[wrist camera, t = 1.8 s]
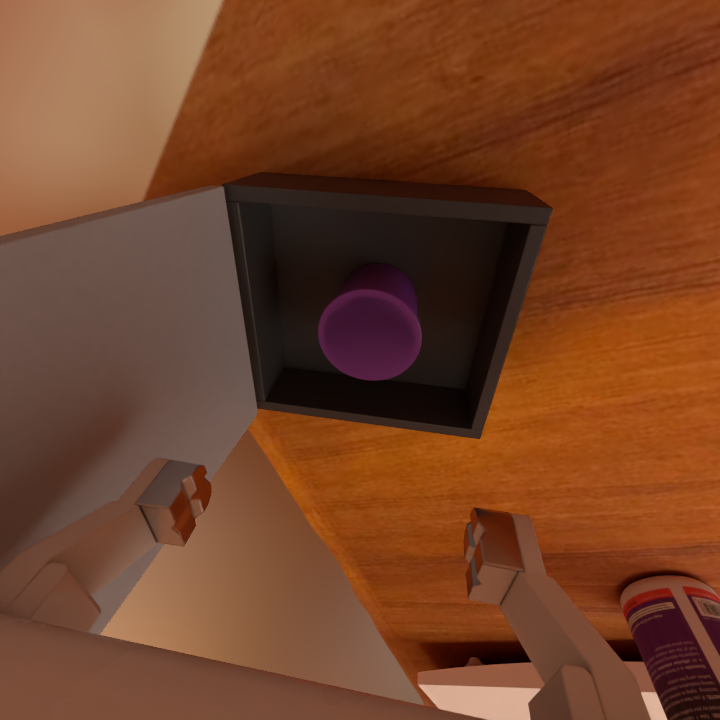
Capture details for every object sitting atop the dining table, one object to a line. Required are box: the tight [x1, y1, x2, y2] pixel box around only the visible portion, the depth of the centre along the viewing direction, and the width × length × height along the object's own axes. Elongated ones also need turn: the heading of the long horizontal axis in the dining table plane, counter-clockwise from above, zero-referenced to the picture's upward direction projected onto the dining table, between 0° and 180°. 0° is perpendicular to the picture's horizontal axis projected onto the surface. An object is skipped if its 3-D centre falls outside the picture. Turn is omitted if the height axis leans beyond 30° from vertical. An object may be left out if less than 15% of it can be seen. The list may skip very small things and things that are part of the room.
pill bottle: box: [620, 575, 720, 720], centre depth 30 cm, size 8×8×14 cm
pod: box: [318, 263, 422, 381], centre depth 21 cm, size 5×5×5 cm
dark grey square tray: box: [222, 172, 553, 439], centre depth 21 cm, size 14×13×5 cm
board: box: [418, 657, 667, 720], centre depth 48 cm, size 45×32×5 cm
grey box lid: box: [0, 185, 258, 635], centre depth 14 cm, size 15×13×5 cm
